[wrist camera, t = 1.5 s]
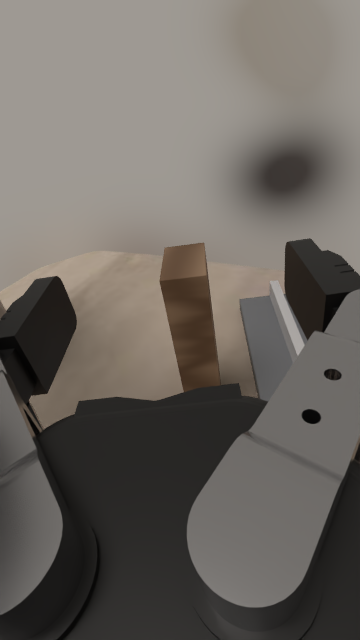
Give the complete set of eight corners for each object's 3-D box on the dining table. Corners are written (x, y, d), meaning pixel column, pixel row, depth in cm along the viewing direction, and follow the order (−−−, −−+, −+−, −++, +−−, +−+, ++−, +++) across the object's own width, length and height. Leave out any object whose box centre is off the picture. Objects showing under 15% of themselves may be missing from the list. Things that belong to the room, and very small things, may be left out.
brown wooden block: (192, 430, 30) (159, 281, 21) (192, 389, 34) (164, 247, 25) (225, 428, 30) (206, 275, 21) (221, 386, 34) (204, 242, 25)
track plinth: (271, 462, 27) (272, 435, 25) (240, 308, 45) (238, 284, 42) (458, 452, 25) (475, 422, 23) (348, 296, 43) (353, 271, 41)
